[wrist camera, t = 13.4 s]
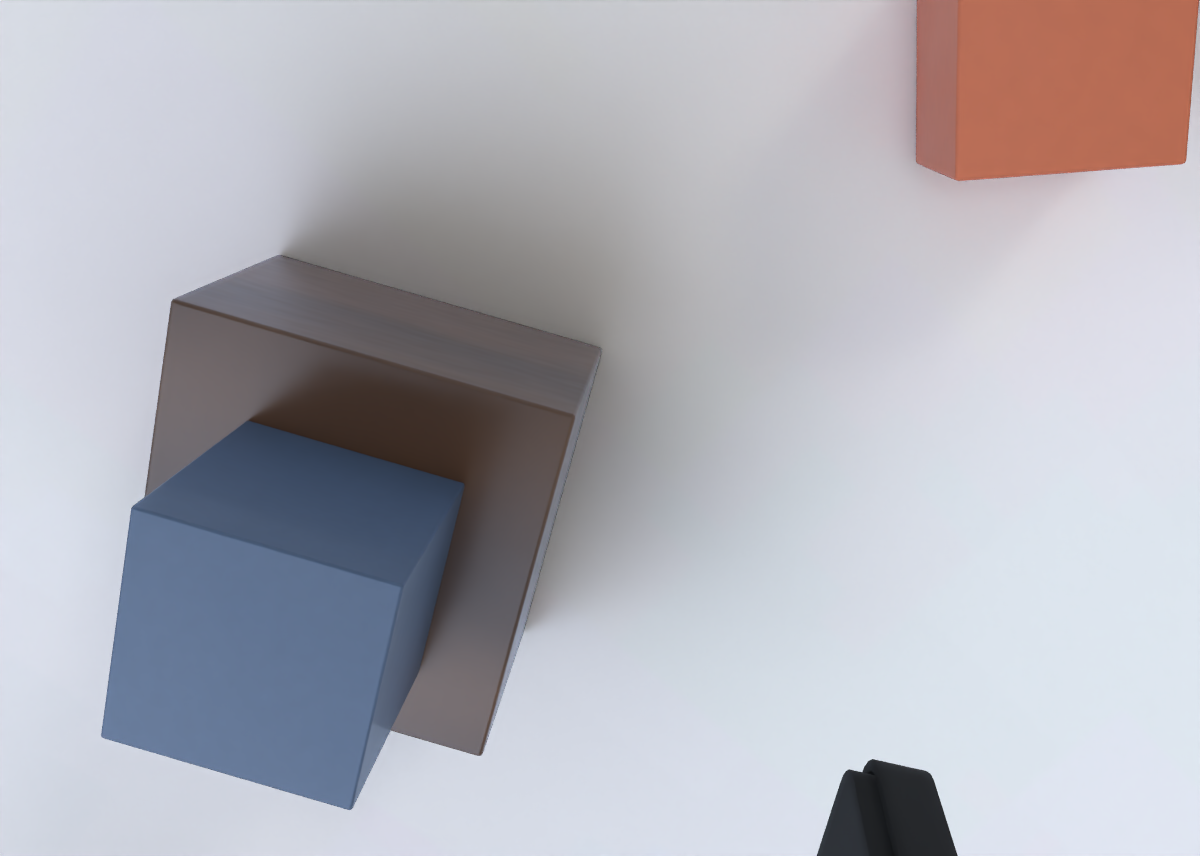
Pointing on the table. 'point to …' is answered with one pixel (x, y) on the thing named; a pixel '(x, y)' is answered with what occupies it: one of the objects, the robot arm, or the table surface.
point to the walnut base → (397, 438)
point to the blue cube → (277, 610)
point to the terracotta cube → (1052, 85)
